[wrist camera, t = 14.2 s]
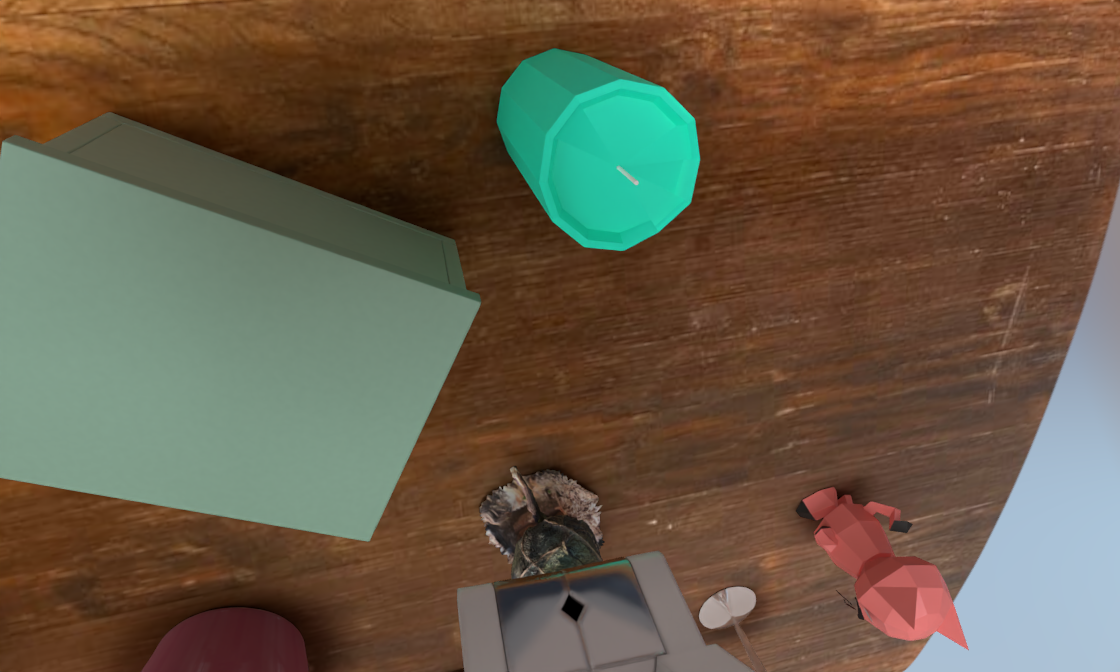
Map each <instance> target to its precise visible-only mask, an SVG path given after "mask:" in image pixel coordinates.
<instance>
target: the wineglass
mask: <svg viewBox="0 0 1120 672" xmlns="http://www.w3.org/2000/svg"><path fill="white" fill-rule="evenodd" d="M755 603H756V596H755V594H754V593H753V591H752V590H750V589H748V588H746V587H731V588H727V589H724V590H722V591H719V592H718V593H716V594H714V595H713V596H711V597H710V598H709V599H708V600H707V601H706V602H705V603H704V605H703V606H702V608H701V609H700V613H699V619H700V622H701V623H702V624H703V625H704V626H705V627H708V628H710V629H722V628H727V627H730V626H733V625H734V627H735V629H736V631H737V633H738V635H739V638H740V640H741V642H742V644H743V646H744V648H745V650H746V652H747V655H748V657H749V659H750V661H751V663H752V665H753V667H754V669H755V672H767V671H766V669H765V667H764V666H763V664H762V662H761V661H760V659H759V657H758V656H757V654H756V652H755V650H754V649H753V647H752V645H751V644H750V642H749V640H748V638H747V637H746V635H745V633H744V632H743V630H742V628H741V627H740V625H739V622H740V621H742V620H744V619H745V618H746V617H747V616H748V615H749V614H750V613H751V611H752V610H753V608H754V606H755Z"/></svg>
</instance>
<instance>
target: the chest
mask: <svg viewBox="0 0 1120 672" xmlns="http://www.w3.org/2000/svg"><path fill="white" fill-rule="evenodd" d="M43 145H46V146H49V147H52V148H55V149H58V150H60V151H63V152H66V153H69V154H72V155H75V156H78V157H81V158H84V159H87V160H90V161H93V162H95V163H98V164H101V165H104V166H107V167H110V168H113V169H116V170H119V171H122V172H125V173H128V174H130V175H133V176H136V177H139V178H142V179H145V180H148V181H151V182H154V183H157V184H160V185H163V186H165V187H168V188H171V189H174V190H177V191H180V192H183V193H186V194H189V195H192V196H195V197H198V198H200V199H203V200H206V201H209V202H212V203H215V204H218V205H221V206H224V207H227V208H230V209H233V210H235V211H238V212H241V213H244V214H247V215H250V216H253V217H256V218H259V219H262V220H265V221H268V222H270V223H273V224H276V225H279V226H282V227H285V228H288V229H291V230H294V231H297V232H300V233H303V234H305V235H308V236H311V237H314V238H317V239H320V240H323V241H326V242H329V243H332V244H335V245H338V246H340V247H343V248H346V249H349V250H352V251H355V252H358V253H361V254H364V255H367V256H370V257H373V258H375V259H378V260H381V261H384V262H387V263H390V264H393V265H396V266H399V267H402V268H405V269H408V270H410V271H413V272H416V273H419V274H422V275H425V276H428V277H431V278H434V279H437V280H440V281H443V282H445V283H448V284H451V285H454V286H457V287H460V288H463V289H466V285H465V281H464V277H463V272H462V268H461V264H460V259H459V255H458V251H457V246H456V243H455V240H453V239H451V238H448V237H445V236H442V235H440V234H437V233H434V232H432V231H429V230H426V229H424V228H421V227H418V226H416V225H413V224H410V223H407V222H405V221H402V220H399V219H397V218H394V217H391V216H389V215H386V214H383V213H381V212H378V211H375V210H372V209H370V208H367V207H364V206H362V205H359V204H356V203H354V202H351V201H348V200H346V199H343V198H340V197H337V196H335V195H332V194H329V193H327V192H324V191H321V190H319V189H316V188H313V187H311V186H308V185H305V184H302V183H300V182H297V181H294V180H292V179H289V178H286V177H284V176H281V175H278V174H276V173H273V172H270V171H267V170H265V169H262V168H259V167H257V166H254V165H251V164H249V163H246V162H243V161H241V160H238V159H235V158H232V157H230V156H227V155H224V154H222V153H219V152H216V151H214V150H211V149H208V148H206V147H203V146H200V145H197V144H195V143H192V142H189V141H187V140H184V139H181V138H179V137H176V136H173V135H171V134H168V133H165V132H162V131H160V130H157V129H154V128H152V127H149V126H146V125H144V124H141V123H138V122H135V121H133V120H130V119H127V118H125V117H122V116H119V115H117V114H114V113H111V112H107V113H105V114H103V115H102V116H99V117H97V118H95V119H93V120H91V121H89V122H87V123H85V124H83V125H81V126H79V127H77V128H75V129H73V130H71V131H69V132H67V133H65V134H63V135H61V136H59V137H57V138H54V139H52V140H50V141H48V142H46V143H44V144H43Z"/></svg>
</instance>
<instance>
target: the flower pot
mask: <svg viewBox="0 0 1120 672" xmlns="http://www.w3.org/2000/svg"><path fill="white" fill-rule="evenodd" d="M141 672H309V668H308V661H307V655H306V648H305V642H304V639H303V637H302V635H301V633H300V632H299V631H298V629H297V628H296V627H295V626H294V625H293V624H292V623H291V622H289V621H288V620H286V619H285V618H283V617H281V616H279V615H277V614H275V613H272V612H269V611H265V610H260V609H254V608H245V607H232V608H220V609H215V610H210V611H206V612H203V613H200V614H197V615H195V616H192V617H190V618H188V619H186V620H184V621H182V622H181V623H179V624H178V625H176V626H175V627H174V628H172V629H171V630H170V631H169V632H168V633H167V634H166V635H165V636H164V638H163V639H162V640H161V641H160V643H159V645H158V646H157V648H156V650H155V651H154V653H153V654H152V656H151V657H150V659H149V660H148V662H147V663H146V665H145V666H144V668H143V669H142V671H141Z"/></svg>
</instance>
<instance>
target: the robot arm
mask: <svg viewBox="0 0 1120 672" xmlns="http://www.w3.org/2000/svg"><path fill="white" fill-rule="evenodd" d="M493 586H494V587H493ZM457 604H458V614H459V624H460V634H461V644H462V654H463V664H464V672H755V671H753V670H752V669H751V668H749V667H748V666H747V665H745V664H744V663H742V662H741V661H740V660H738V659H737V658H735V657H734V656H733V655H731V654H730V653H729V652H727V651H726V650H724V649H723V648H722V647H720V646H719V645H717V644H711V645H706V644H705V642H704V640H703V638H702V636H701V633H700V631H699V629H698V627H697V625H696V623H695V621H694V619H693V616H692V614H691V612H690V610H689V608H688V606H687V604H686V602H685V599H684V597H683V595H682V593H681V591H680V589H679V587H678V585H677V582H676V580H675V578H674V576H673V574H672V572H671V570H670V568H669V565H668V563H667V561H666V559H665V557H664V555H663V554H662V553H660V552H659V551H654V552H649V553H643V554H638V555H633V556H628V557H626V558H624V557H620V558H615V559H610V560H605V561H601V562H596V563H591V564H586V565H581V566H576V567H571V568H567V569H562V570H560V571H557V572H551V573H545V574H539V575H533V576H527V577H521V578H515V579H509V580H503V581H497V582H494V584H493V583H487V584H481V585H476V586H470V587H464V588H459V589H457Z"/></svg>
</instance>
